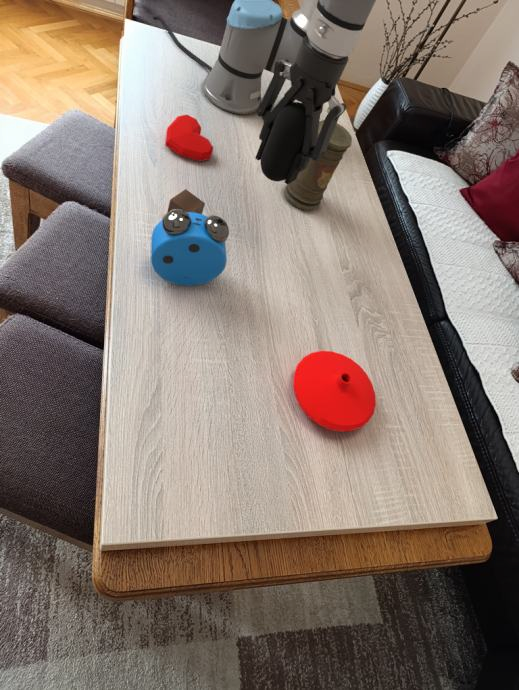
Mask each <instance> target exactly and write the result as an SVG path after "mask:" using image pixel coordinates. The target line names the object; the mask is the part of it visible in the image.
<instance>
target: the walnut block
mask: <svg viewBox="0 0 519 690" xmlns="http://www.w3.org/2000/svg"><path fill="white" fill-rule="evenodd" d="M205 206H206V203H205V202H204V201H203V200H202V199H200V198H199V197H198V196H197V195H194V193H192V192H191V191H189V190H188V189H187V188H185V189H184V190H182V191H181V192H179V193H178V194H175V196H173V197H172V198H170V199H169V202H168V207H167V211H166V213H168V212H169V211H171V210H174V209H181V210H184V211H186V212H193V213H199V214H202V215H203V212H204V209H205Z"/></svg>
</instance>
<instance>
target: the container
mask: <svg viewBox="0 0 519 690" xmlns="http://www.w3.org/2000/svg"><path fill="white" fill-rule="evenodd" d="M324 120H325V119H324ZM324 120H323V119H322V120H320V121H319V128H318V136H317V139H318V137H319V134H320V131H321V129H322V126H323V123H324ZM352 143H353V138H352V135H351V133H350V132H349V131H348V129H347V128H346V127H345V126H343V125H341V124H340V123H338V122H337V124H336V127H335V129H334V132H333V134H332V137H331V139H330V142H329V145H328V147H327V150H326V152H325V155H324V156H323V157H321V158H319V159H317V160H315V161H314V160H313V159H312V158H311V159H310V161H309V163H308V165H307V168H306V169H304V170H303V171H301V172H300V171H299V174H298V176H297V178H296V180H294V181H293V182H291V183H289V184H288V185H287V184H286V185H285V188H284V197H285V199H286V200H287V201H288V202H289V204H290V205H292V206H293V207H295V208H297V209H299V210H302V211H308V212H309V211H315V210H316V209H317V208H319V207H320V206H321V202H322V200H323V199H324V193H325V192H326V190H327V189H328V185H329V183H330V181H331V180H332V177H333V176H334V173H335V172H336V170H337V168H338V166H339V164H340V163H341V161H342V160H343V158H344V154H345V152H347V151H348V149H349V148H350V147H351V146H352Z"/></svg>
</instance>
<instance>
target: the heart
mask: <svg viewBox="0 0 519 690" xmlns="http://www.w3.org/2000/svg"><path fill="white" fill-rule="evenodd" d="M201 133H202V127H201V125H200V124H199V122H198V120H197V119H196V118H195V117H193V116H191V115H189V114H182V115H178V116H177V117H175V119H174V120H173V121H172V122H171V123H170V124H169V126H168V127H166V135H165V137H166V138H165V147H167V148H168V149H170V150H171V151H173V152H174V153H176V154H177V155H179V156H180V157H183V158H186V159H191V160H195V161H198V162H202V161H207V160H211V157H212V154H213V151H214V146H213V145H212V143H211V142H210V140H209V139H208V138H206V137H205V136H203V135H201Z"/></svg>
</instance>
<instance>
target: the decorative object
mask: <svg viewBox="0 0 519 690" xmlns="http://www.w3.org/2000/svg"><path fill="white" fill-rule="evenodd" d="M305 111H306V107H305V106H304V105H303V104H302V103H301V102H300V101H294V102H292V103H289V104H288V105H286V106H285V107H284V108H282V109H281V110H280V111H279V113H278V115H277V117H276V119H275V122H274V124H273V127H272V130H271V132H270V135H269V137H268V140H267V143H266V145H265V148H264V150H263V153H262V156H261V159H260V168H261V171H262V173H263V175H264V176H265V178H267V179H268V180H270V181H272V182H283V181H285V179H286V177H287V175H288V173H289V171H290V168H291V166H292V164H293V162H294V160H295V157H296V155H297V153H298V152H300V151H302V150H303V142H304V135H305V130H306V115H305Z"/></svg>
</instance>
